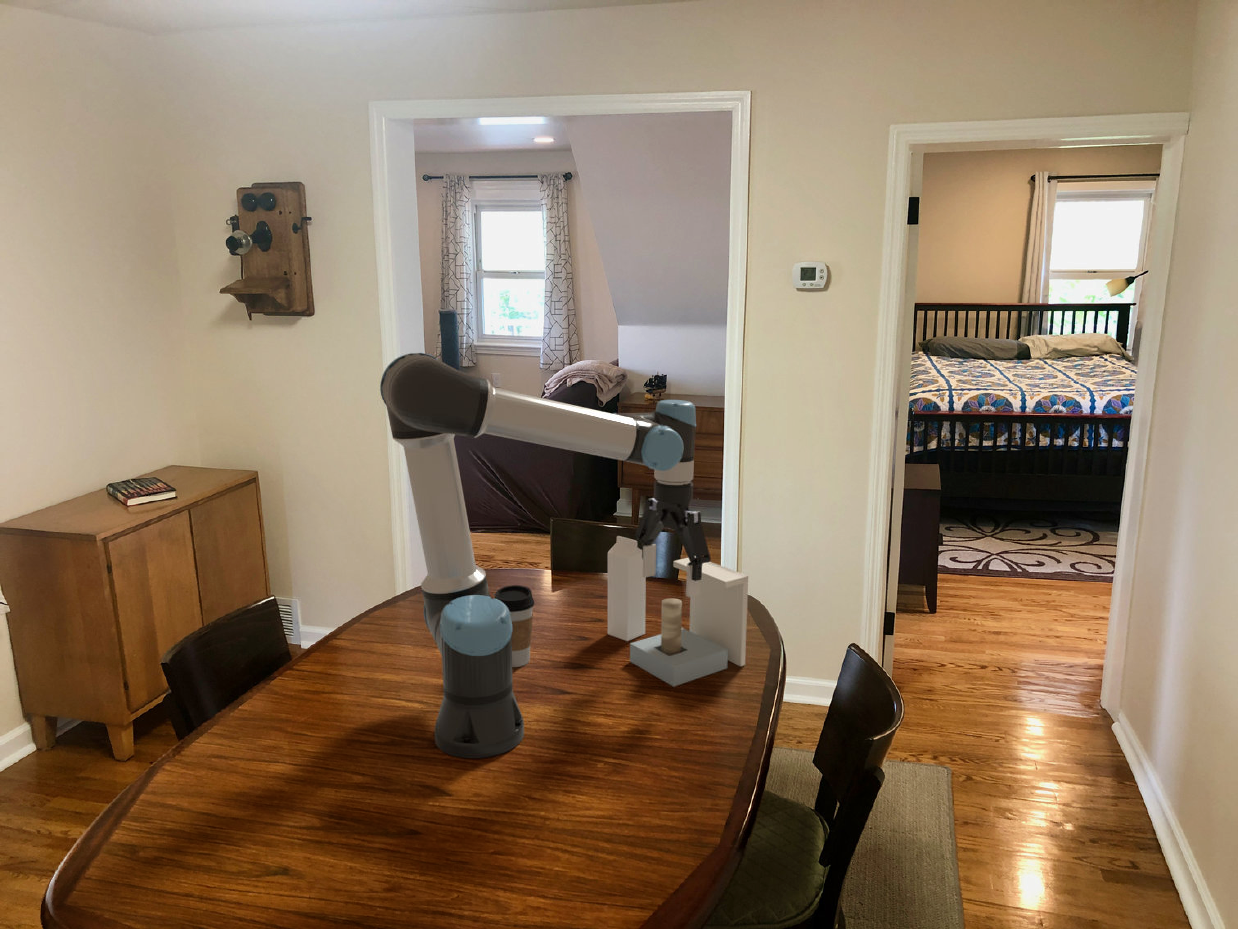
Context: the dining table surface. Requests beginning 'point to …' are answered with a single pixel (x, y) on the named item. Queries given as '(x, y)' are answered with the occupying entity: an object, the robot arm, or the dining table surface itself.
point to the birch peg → (671, 626)
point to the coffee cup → (519, 620)
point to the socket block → (679, 658)
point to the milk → (626, 590)
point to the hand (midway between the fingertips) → (670, 585)
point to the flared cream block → (720, 608)
